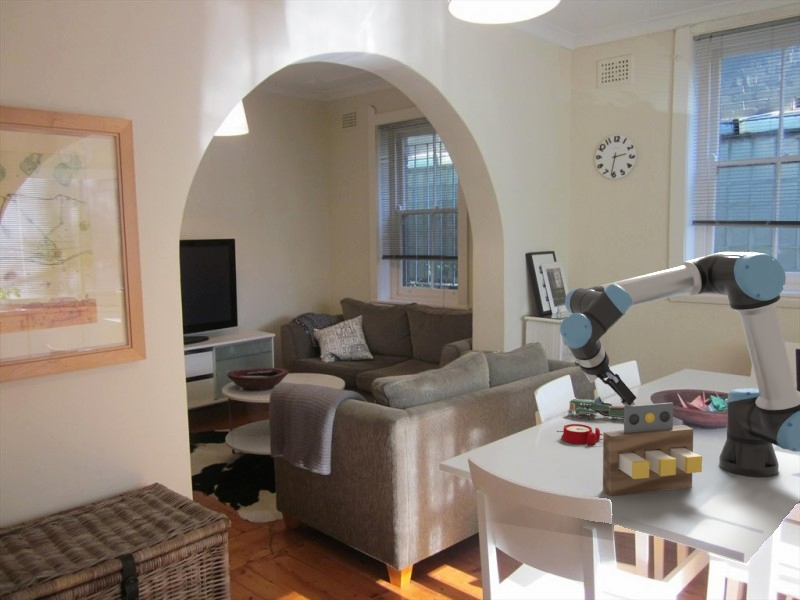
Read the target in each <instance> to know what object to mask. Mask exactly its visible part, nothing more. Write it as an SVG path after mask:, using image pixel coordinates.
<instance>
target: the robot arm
mask: <svg viewBox="0 0 800 600" xmlns="http://www.w3.org/2000/svg"><path fill="white" fill-rule="evenodd" d="M786 278H787V277H786V272H785V268H784V267H783V265H782V263H781V262H780V261H779V260H778V259H777V258H776V257H775V256H772V255H771V254H767V253H762V252H757V251H748V252H747V251H745V252H744V251H721V252H715V253H712V254H709V255H704V256H701V257H697V258H694V259H690V260H686V261H684V262H681V264H680V265H679V266H676V267H672V268H668V269H664V270H660V271H655V272H652V273H647V274H643V275H639V276H638V275H637V276H634V277H630V278H625V279H622V280H617V281H614V282H608V283H605V284H601V285H598V286H592V287H588V288H584V287H580V288H573V289H571V290H570V291H569V292H568V293H567V294H566V296H565V299H564V305H565V309H566V310H567V311H568V313H570V315H566V316H565V318H563V319H562V321H561V322H560V326H559V331H560V336H561V337H562V340H563V342H564V344H565V345H566V346H567V348H568V349H569V350H570V352H571V354H572V355H573V357H574V359H575V361H574V365H575V366H577V367H579V368H580V370H582V372H583V373H584V375H585V376H586V378H587V379H588V382H589V383H591V384H593V383H594V382H595V381H596V380H597V379H599V380H601V382H602V383H604V384H605V385H608V386H609V387H610V389H611V390H612V391H614V392H615V393H616V394H617V396H619V398H620V403H622V404H623V406H635V405H636V403H635V400H636V399H637V398H638V397H637V396H636V395H635V394H634V392H633V391H631V389H630V388H629V387H628V386H627V385H626V383H625V382H624V381H623V380H622V378H621V377H620V375H619V374H617V373H614V372H613V371H612V370H611V369H610V367H609V363H610V358H609V355H608V353H607V352H606V350H605V347H604V346H603V344H602V342H601V338H602V337H603V336H604V335H605V334H606V333H607V332H608V331H609V330H610V329H611V328H612V327H613V326H614V325H615V324H616V323H617V322H619V320H620V319H621V318H622V317H623V316H624V315H625V314H626V312H627V311H628V310H629V309H630V308H631V307H632V308H633V307H635V306H639V305H643V304H648V303H652V302H656V301H660V300H664V299H665V300H666V299H667V298H672V297H676V296H681V295H685V294H687V295H690V296H697V295H701V294H714V295H715V294H717V295H724V296H727V298H728V302H729V306H730V309H731V310H732V311H734V312H736V313H738V314H739V319H740V322H741V326H742V330H743V334H744V338H745V343H746V345H747V346H746V347H747V350H748V354H749V358H750V361H751V366H752V370H753V373H754V376H755V382H756V385H757V387H755V388H751V387H750V388H748V387H747V388H746V387H745V388H735V389H731V390H730V391H729V392H728V395H727V401H726V404H727V409H726V410H727V411H726V413H727V415H726V419H727V421H726V440H725V442H724V445H723V448H722V450H721V453H720V454H719V461H718V462H719V463H718V464H719V467H721V468H722V469H724V470H725V471H727V472H731V473H733V474H737V475H741V476H748V477H759V478H760V477H761V478H762V477H771V476H775V475H778V473H779V461H778V458H777V455H776V452H775V449H774V445H775V446H777V447H779V448H781V449H783V450H788V451H791V452H798V453H799V452H800V391H798V390H797V388H796V383H795V379H794V376H793V371H792V368H791V367H792V366H791V364H790V360H789V359H790V358H789V355H788V351H787V347H786V344H785V339H784V335H783V332H782V328H781V324H780V319H779V316H778V311H777V305H778V304H779V302H780V301H781V296H780V295H781V293H782V292H783V290H784V285H786V280H787V279H786Z"/></svg>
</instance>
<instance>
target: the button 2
mask: <svg viewBox="0 0 800 600" xmlns="http://www.w3.org/2000/svg"><path fill="white" fill-rule="evenodd" d="M669 456H671V457H674V458H676V467H677V468H679V469H681V470H683V471H685V473H687V474H688V473H692V474H694V473H695V474H696V473H697V474H698V473H702V471H703V470H702V469H703V456H702V455H701V454H697V453H695V452H694V451H693V452H692V451H690V450H688V449H686V448H684V447H672V448H670V451H669Z"/></svg>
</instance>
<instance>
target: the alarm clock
mask: <svg viewBox="0 0 800 600" xmlns="http://www.w3.org/2000/svg"><path fill="white" fill-rule="evenodd" d="M600 430H601V429H600V428H599V427H595V432H593V428H592V427H591V426H589V425H586V424H581V423H579V424H578V423H572V424H571V423H570V424H566V425H564V426H563V430H556V432H557V433H562V435H561V439H562V440H563V441H564V442H567V443H570V444H576V445H577V444H579V445H585V444H587V445H590V446H592V445H593V446H594V445H595V444H596V443H597V441H599V440H600V441H602V440H603V438H601V436H603V434H602V433H601V431H600ZM596 440H597V441H596Z"/></svg>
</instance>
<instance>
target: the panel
mask: <svg viewBox="0 0 800 600" xmlns="http://www.w3.org/2000/svg"><path fill="white" fill-rule="evenodd" d="M602 436H603V438H602V439H603V441H602V442H603V444H602V447H603V449H602V491H603V492H604V493H606V494H607V495H608V496H610V497H614V496H625V495H634V494H642V493H650V492H660V490H661V491H668V489H670V490H678V489H679V490H680V489H688V488H693V473H688V474H687V473H685V471H683V470H681V469H679V468H677V467H676V475H669V476H659V474H657V473H655V472H654V471H652V470H650V469H649V478H641V479H633V478H632V477H631V476H629V475H628V474H626V473H625V472H623V471H621V470H620V469H618V453H620V452H630V451H631V452H633V453H634V454H636V455H638V456H640V457H641V458H643V459H644V450H651V449H657V450H659V451H661V452H663V453H665V454H667V455H669V451H670V448H672V447H684V448H686V449H688V450H690V451H692V452H694V428H692V427H690V426H688V425H685V424H679V425H673V429H664V430H653V431H642V432H631V433H624V429H623V430H621V429H620V430H613V431H611V430H609V431H603V434H602Z"/></svg>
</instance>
